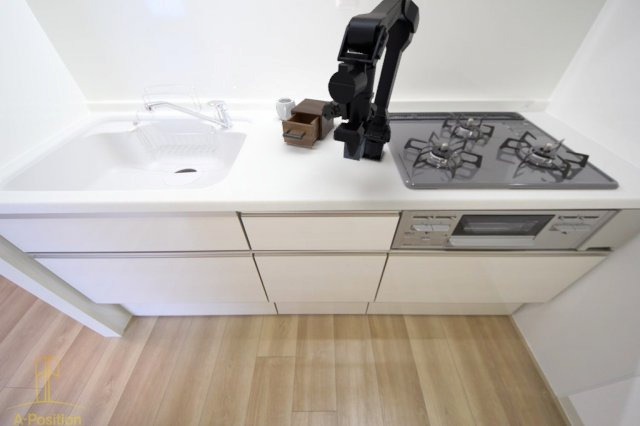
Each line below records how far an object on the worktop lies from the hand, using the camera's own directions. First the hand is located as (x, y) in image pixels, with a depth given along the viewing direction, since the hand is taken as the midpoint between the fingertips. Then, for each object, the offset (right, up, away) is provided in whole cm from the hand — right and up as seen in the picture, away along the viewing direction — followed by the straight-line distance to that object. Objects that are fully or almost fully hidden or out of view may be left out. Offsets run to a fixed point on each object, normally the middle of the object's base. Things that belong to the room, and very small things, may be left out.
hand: (353, 151), depth 64 cm
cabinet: (-12, +18, +34) cm, 40 cm away
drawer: (-16, +11, +26) cm, 32 cm away
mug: (-24, +25, +41) cm, 54 cm away
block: (0, -1, +1) cm, 1 cm away
